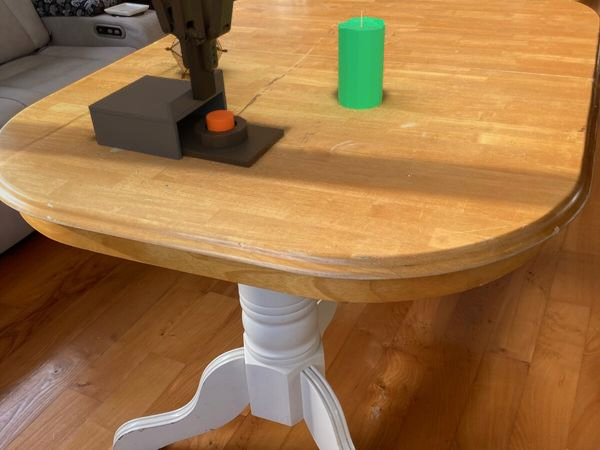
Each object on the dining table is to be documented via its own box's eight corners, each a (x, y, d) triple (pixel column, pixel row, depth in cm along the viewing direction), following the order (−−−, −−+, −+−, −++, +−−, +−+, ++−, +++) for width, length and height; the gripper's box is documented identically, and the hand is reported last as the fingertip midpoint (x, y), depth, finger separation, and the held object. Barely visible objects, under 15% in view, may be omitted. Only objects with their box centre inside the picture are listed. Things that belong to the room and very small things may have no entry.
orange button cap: (202, 130, 68) (200, 118, 68) (216, 120, 71) (215, 108, 70) (226, 134, 67) (224, 122, 66) (239, 124, 70) (238, 111, 69)
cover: (97, 145, 71) (83, 89, 67) (152, 111, 80) (143, 59, 76) (179, 161, 67) (169, 102, 63) (228, 123, 75) (222, 69, 71)
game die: (213, 94, 94) (244, 39, 92) (198, 94, 86) (232, 33, 84) (166, 64, 94) (195, 8, 92) (146, 61, 86) (178, -1, 83)
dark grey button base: (132, 146, 71) (128, 127, 69) (175, 118, 77) (172, 100, 76) (249, 168, 65) (247, 148, 63) (284, 136, 71) (283, 116, 70)
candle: (371, 90, 83) (374, 2, 76) (389, 105, 78) (394, 13, 71) (331, 97, 81) (331, 8, 75) (347, 112, 77) (348, 19, 70)
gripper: (252, -148, 55) (269, 91, 68) (141, -144, 60) (176, 79, 73) (210, -145, 49) (237, 116, 63) (91, -141, 54) (139, 101, 67)
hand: (204, 96), depth 68 cm, fingers closed
